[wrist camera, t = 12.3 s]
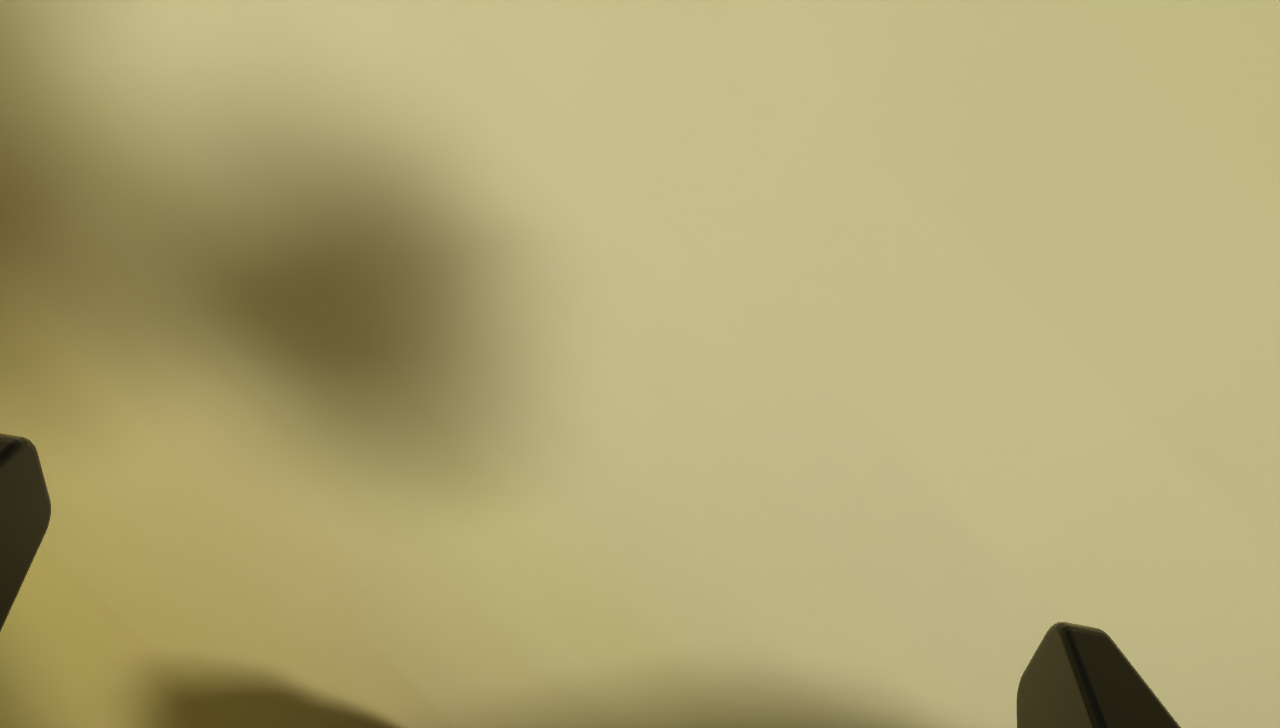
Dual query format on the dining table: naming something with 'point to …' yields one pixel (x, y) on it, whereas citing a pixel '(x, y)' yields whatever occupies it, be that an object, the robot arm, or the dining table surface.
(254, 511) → the dining table surface
